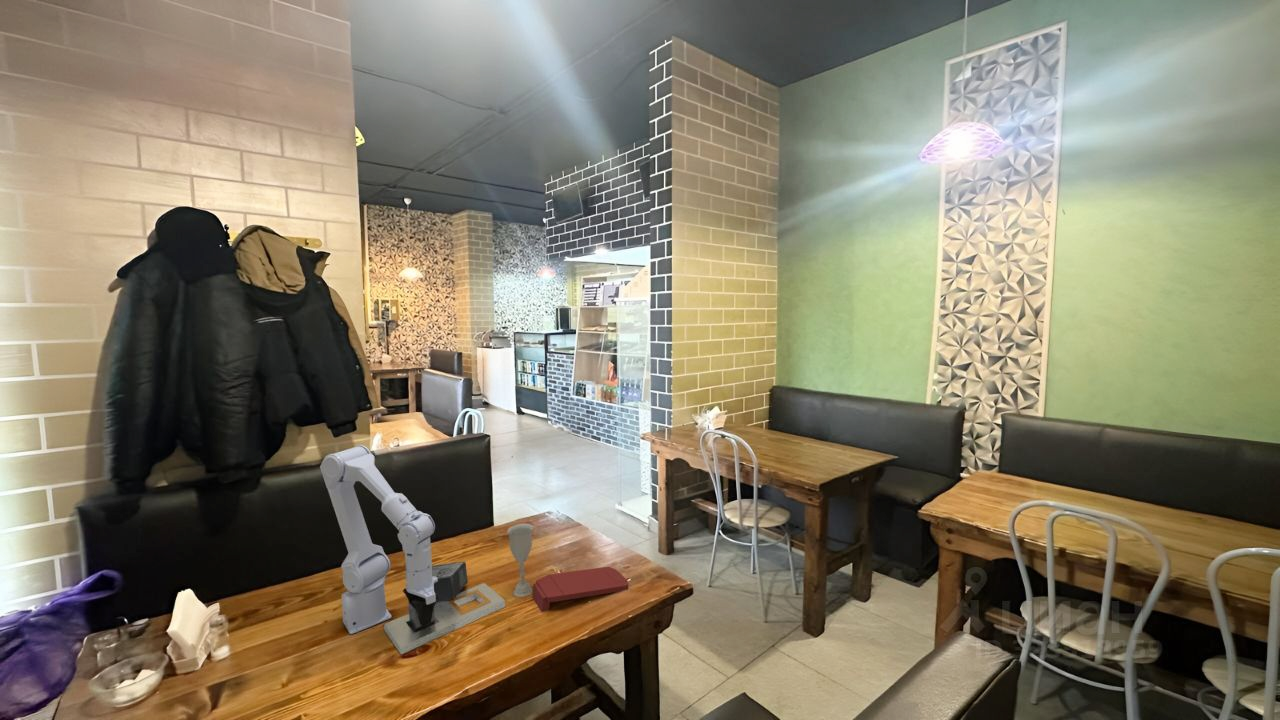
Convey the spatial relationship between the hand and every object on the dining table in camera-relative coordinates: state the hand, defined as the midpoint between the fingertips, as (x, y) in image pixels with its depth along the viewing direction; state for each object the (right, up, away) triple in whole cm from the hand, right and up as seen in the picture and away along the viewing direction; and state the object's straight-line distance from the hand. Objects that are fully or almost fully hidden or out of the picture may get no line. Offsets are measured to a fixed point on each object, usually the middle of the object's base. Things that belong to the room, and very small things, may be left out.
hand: (422, 619), depth 120 cm
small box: (-1, +3, +19) cm, 20 cm away
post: (0, -2, 0) cm, 2 cm away
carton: (+37, -1, +16) cm, 40 cm away
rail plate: (+4, -2, +4) cm, 6 cm away
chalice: (+21, -1, +16) cm, 26 cm away
